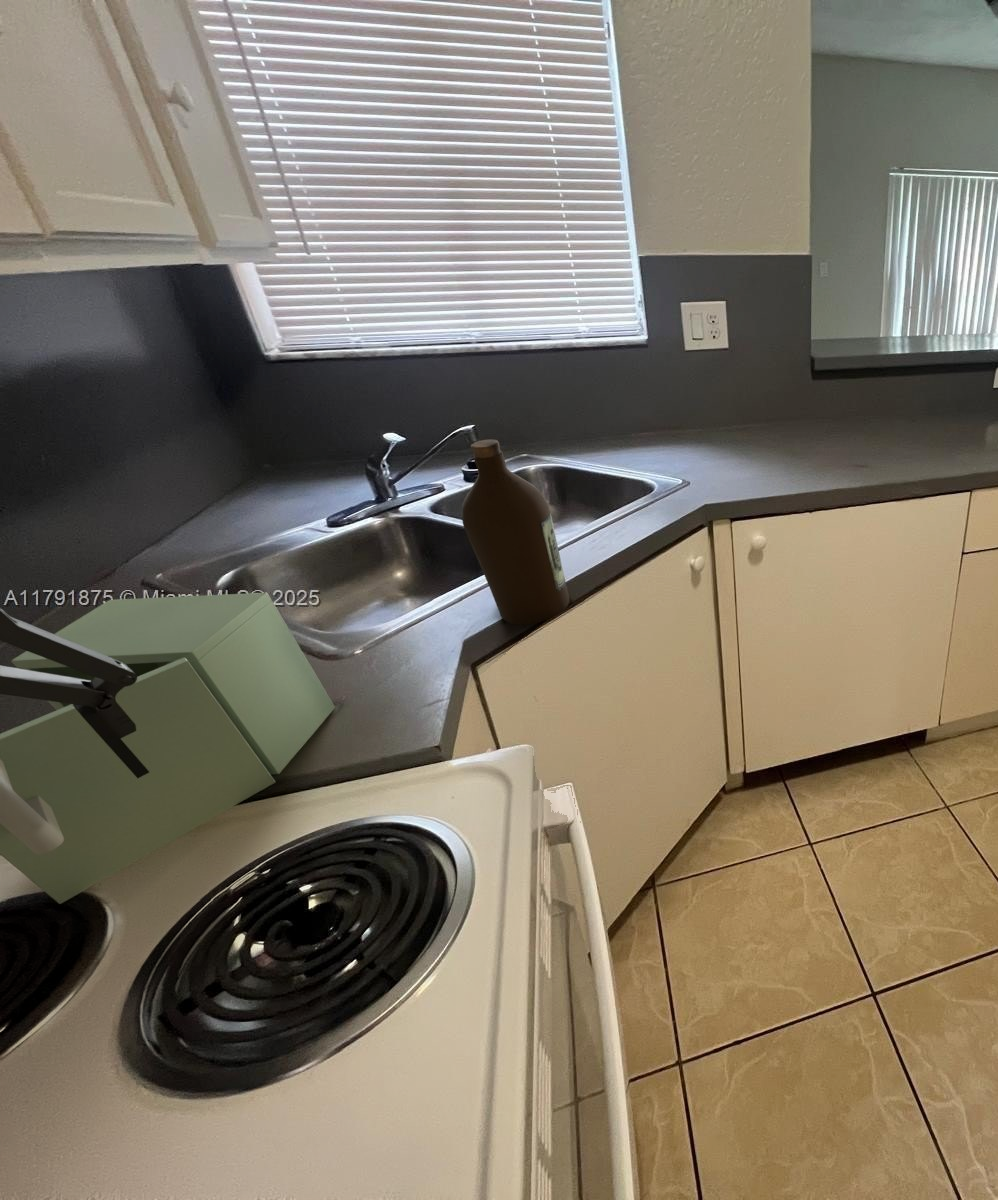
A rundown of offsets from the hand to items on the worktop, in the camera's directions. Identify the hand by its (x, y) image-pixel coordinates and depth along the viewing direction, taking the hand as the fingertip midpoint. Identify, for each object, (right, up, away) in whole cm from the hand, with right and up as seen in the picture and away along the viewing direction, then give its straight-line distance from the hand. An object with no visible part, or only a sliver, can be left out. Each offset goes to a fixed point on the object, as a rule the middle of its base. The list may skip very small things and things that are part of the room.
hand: (19, 830), depth 45 cm
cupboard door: (0, -7, +12) cm, 14 cm away
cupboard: (-5, 0, +24) cm, 24 cm away
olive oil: (+19, +15, +45) cm, 51 cm away
